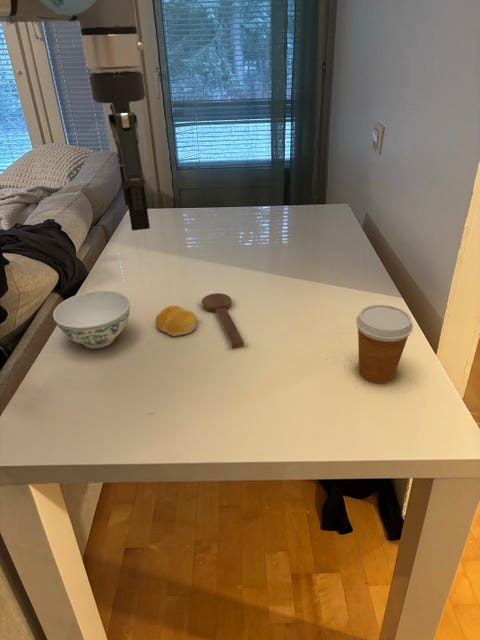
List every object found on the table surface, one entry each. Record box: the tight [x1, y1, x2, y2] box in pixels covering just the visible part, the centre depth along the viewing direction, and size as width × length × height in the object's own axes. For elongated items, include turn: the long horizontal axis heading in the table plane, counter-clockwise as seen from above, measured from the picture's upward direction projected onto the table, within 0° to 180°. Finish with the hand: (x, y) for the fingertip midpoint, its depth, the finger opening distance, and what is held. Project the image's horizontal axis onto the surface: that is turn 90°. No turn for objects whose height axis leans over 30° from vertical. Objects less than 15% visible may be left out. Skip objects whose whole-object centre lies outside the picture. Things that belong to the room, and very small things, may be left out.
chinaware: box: [52, 290, 131, 349], centre depth 96 cm, size 15×15×8 cm
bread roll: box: [155, 305, 198, 337], centre depth 101 cm, size 8×9×4 cm
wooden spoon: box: [201, 292, 244, 349], centre depth 103 cm, size 7×22×1 cm, turn 16°
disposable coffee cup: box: [355, 304, 414, 384], centre depth 83 cm, size 10×10×12 cm
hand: (136, 215), depth 77 cm, fingers open, 13 cm apart
